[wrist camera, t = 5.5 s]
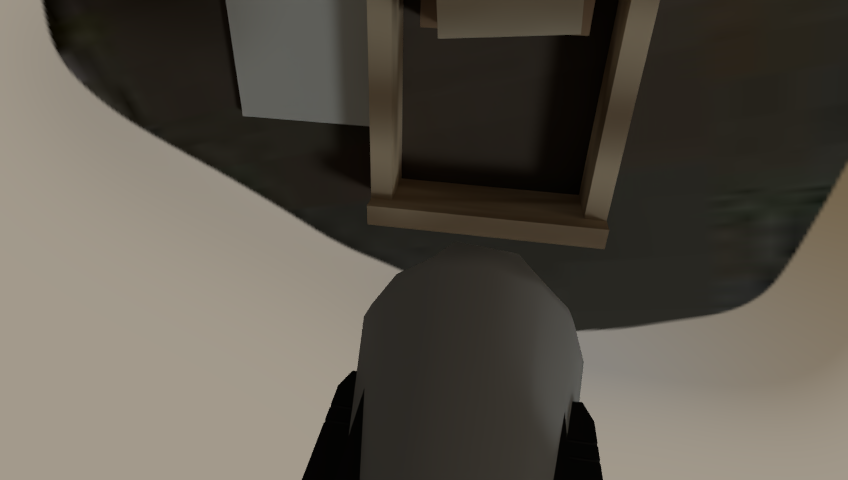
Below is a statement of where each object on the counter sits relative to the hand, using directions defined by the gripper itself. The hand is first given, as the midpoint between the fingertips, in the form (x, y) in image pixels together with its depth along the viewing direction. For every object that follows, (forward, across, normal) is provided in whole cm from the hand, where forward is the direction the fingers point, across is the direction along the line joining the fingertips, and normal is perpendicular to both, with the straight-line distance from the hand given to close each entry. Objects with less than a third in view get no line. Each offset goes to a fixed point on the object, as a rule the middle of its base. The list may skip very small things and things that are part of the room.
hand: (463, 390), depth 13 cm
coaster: (+20, +11, -3) cm, 23 cm away
